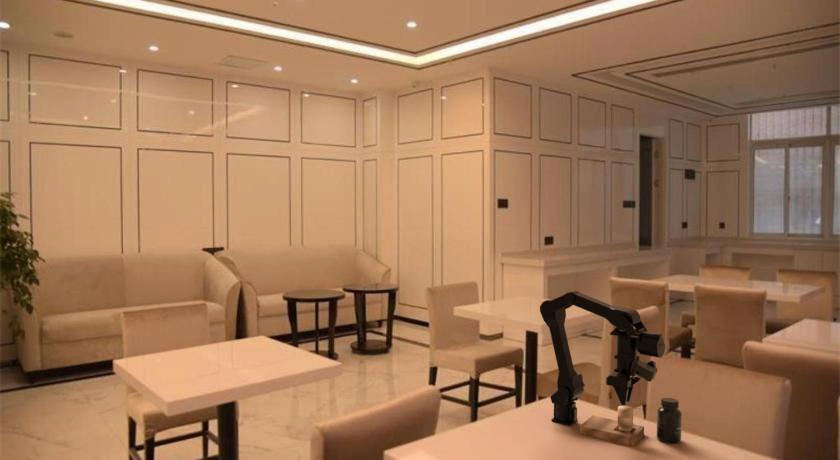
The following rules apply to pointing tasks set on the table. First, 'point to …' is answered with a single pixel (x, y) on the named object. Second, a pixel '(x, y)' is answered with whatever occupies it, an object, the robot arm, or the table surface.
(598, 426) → the board
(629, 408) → the peg
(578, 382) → the robot arm
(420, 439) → the table surface
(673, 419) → the supplement bottle
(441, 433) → the table surface
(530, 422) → the table surface
